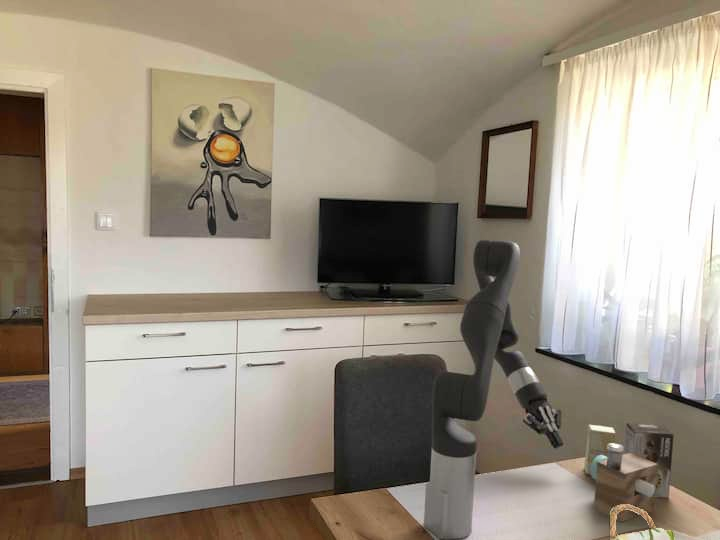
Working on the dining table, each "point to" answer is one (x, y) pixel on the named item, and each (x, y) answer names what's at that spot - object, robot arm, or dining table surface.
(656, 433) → the coffee box
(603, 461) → the mount
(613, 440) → the skincare box
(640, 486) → the knob
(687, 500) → the dining table surface
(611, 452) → the dial post
